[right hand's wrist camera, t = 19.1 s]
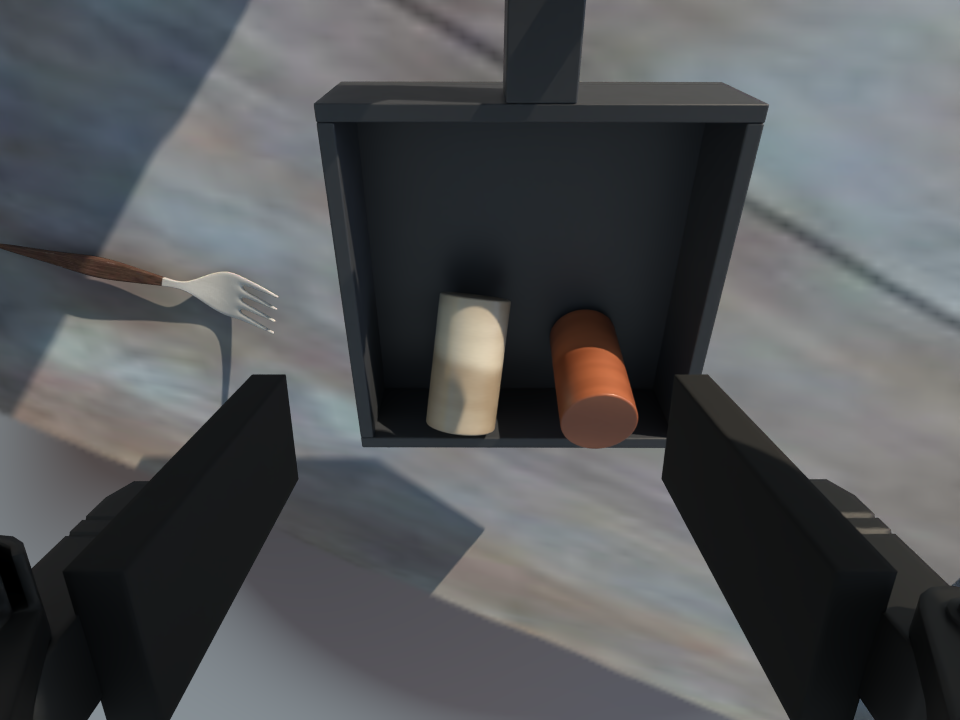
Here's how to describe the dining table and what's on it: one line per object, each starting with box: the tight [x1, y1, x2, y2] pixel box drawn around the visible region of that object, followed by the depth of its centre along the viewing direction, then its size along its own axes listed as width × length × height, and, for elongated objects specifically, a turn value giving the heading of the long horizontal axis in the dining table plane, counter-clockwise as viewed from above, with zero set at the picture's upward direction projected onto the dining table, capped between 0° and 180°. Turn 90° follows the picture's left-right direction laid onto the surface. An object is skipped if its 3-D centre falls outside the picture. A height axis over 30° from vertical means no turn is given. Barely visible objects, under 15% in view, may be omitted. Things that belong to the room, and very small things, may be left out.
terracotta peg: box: [550, 309, 638, 449], centre depth 27 cm, size 3×3×6 cm
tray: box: [314, 0, 769, 448], centre depth 23 cm, size 24×15×5 cm, turn 179°
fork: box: [0, 244, 278, 334], centre depth 33 cm, size 3×16×2 cm, turn 77°
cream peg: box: [426, 292, 511, 436], centre depth 27 cm, size 3×3×6 cm
